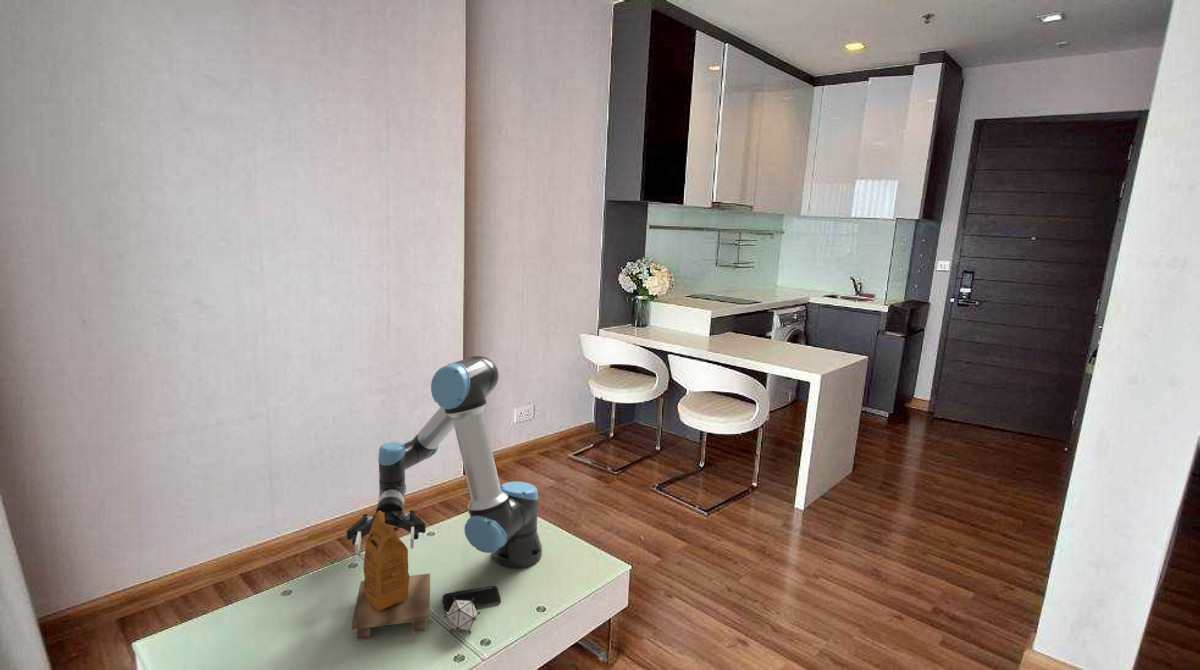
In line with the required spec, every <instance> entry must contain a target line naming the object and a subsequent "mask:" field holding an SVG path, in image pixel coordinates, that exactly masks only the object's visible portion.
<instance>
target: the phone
mask: <svg viewBox="0 0 1200 670" xmlns="http://www.w3.org/2000/svg"><path fill="white" fill-rule="evenodd" d="M453 597H455V599H456V600H472V598H474V600H473V601H472V602H473V604H474V606H475V608H476V610H477V609H484V608H489V607H494V606H495V607H496V606H499V605H501V604H500V603H502V599H501V595H500V592H499V588H498V586H497V585H488V586H482V587H478V588H476V587H475V588H472V589H471V588H470V589H466V590H465V589H464V590H459V591H454V592H447V593H444V594H443V595H442V604H444V605H443V610H445V611H446V612H448V611H449V609H450V607H451V606H452V604H453V602H454V599H453Z"/></svg>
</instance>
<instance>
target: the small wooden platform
mask: <svg viewBox="0 0 1200 670" xmlns="http://www.w3.org/2000/svg"><path fill="white" fill-rule="evenodd" d="M364 582H365V580H361V581H360V584H359V588H358V593H357V597H356V601H355V606H354V611H353V616H352V620H351V625H350V626H351V629H350V630H356V640H357V639H358V640H357V641H359V640H360V639H361V640H367V639H371V636H372V635H371V634H372V629H373V628H375V627H382V626H390V625H399V624H405V623H406V624H407V623H412V633H413V632H414V633H420V632H425V631H426V621H429V620H430V602H431V601H430V600H431V599H430V598H431V597H430V596H431V573H423V574H422V573H421V574H415V575H414V574H413V575H409V587H408V598H407V599H405V600H404V601H402V602H399V603H396V604H393V605H392V606H390V607H388V608H386V609H384V610H382V611H377V610H376V609H375V608H374V607H373V606H371V605H370V604H369V602H368V600H367V598H366V594H365V589H364Z"/></svg>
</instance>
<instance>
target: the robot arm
mask: <svg viewBox="0 0 1200 670" xmlns="http://www.w3.org/2000/svg"><path fill="white" fill-rule="evenodd" d="M498 370H499V369H498V368H497V366H496V364H495V362H494V361H493V360H491V359H490V358H488V357H486V356H484V355H483V356H482V355H473V356H471V357H467V358H464V359H462V360H457V361H455V362H450V363H447V364H446V365H444V366H442V367H440V368H439V369H438V370H437V371H436V372H435V373H434V375H433V376H432V379H431V382H430V392H431V395H432V399H433V400H434V402H435V403H437V406H439V408H438V409H437V410H436V411H435V413H434V414H433V415H432V416H431V417H430V419H429V420H428V421H427V422H426V423H425V425H424V426H423V427H422V428H421V429H420V431H418V433H417V434H416V435H415V436H414V438H413V439H411V440H408V442H405V443H402V442H397V441H394V442H393V441H390V442H386V443H384V444H382V445H380V447H379V449H378V459H377V461H378V470H379V471H378V475H379V476H378V477H379V479H378V482H379V483H378V486H379V492H378V493H379V494H378V499H377V503H376V504H377V505H376V510H375V514H374V515H372V516H369V515H368V513H364V514H363V515H362V517H361V518H360V519H359V520H358V521H356V522H355V523H354V524H352V526H351V527H349V528H348V529H346V539H347V541H350V540H351V546H354V555H359V552H360V547H361V543H362V538H364V537H365V536H368V534H369V532H370V530H371V527H372V523H373V521H374V519H375V516H376V513H377V511H382V512H383V513H384V515H385V523H386V524H389V525H393V526H396V527H398V529H402V530H405V531H407V532H409V533H410V542H409V543H410V549H411V550H413V549H415V547H414V546H415V545H414V544H415V540H418V539H419V537H420V536H419V535H420V533H421V534H425V533H426V531H427V530H426V523H425V522H424V520H422V519H421V518H420V517H419V516H417V514H415V511H414V510H409V512H407V513H404V507H405V495H406V491H407V489H406V488H407V486H406V470H407V469H410V468H411V467H414V466H415V465H418V464H419V463H421V462H422V461H425V460H427V459H429V458H431V457H432V456H433V455H435V454H436V453H437V452H438V449H439V446H440V444H441V443H442V442H443V441H444V440H445V439H446V437H448V435H449V434H450V433H451V432H452V431H453V430H454V431H455V434H456V439H457V443H458V444H457V445H458V449H459V452H460V456H461V461H462V465H463V468H464V469H463V470H464V473H465V476H466V481H467V485H468V490H469V494H470V495H469V496H470V498H471V499H470V502H469V503H468V504H467V510H468V514H469V518H468V519H467V520H466V522H465V524H464V534H465V537H466V539H467V541H468V542H469V545H471V546H472V547H473V548H475V549H476V550H478V551H479V552H482V553H485V554H489V553H492V557H493V560H494V561H495V562H496V563H497V564H499V565H500V566H502V567H504V568H510V569H521V568H522V569H523V568H527V567H530V566H532V565H535V564H536V563H538V562H539V561H540V560H541V558H542V556H543V545H542V543H541V539H540V536H539V533H538V513H539V511H538V510H539V509H538V508H539V506H538V505H539V494H538V493H539V491H538V489H537V487H536V486H535V485H533V484H532V483H530V482H525V481H507V482H504V483H503V484H502V485H501V483H500V479H499V475H498V471H497V467H496V461H495V458H494V453H493V449H492V445H491V441H490V440H491V439H490V437H489V431H488V427H487V423H486V419H485V415H484V409H485V408H486V406H487V405H488V404H487V400H486V399H487V397H488V396H489V394H491V393H492V391H493V390H494V389H495V387H496V386H497V384H498V381H499V371H498Z"/></svg>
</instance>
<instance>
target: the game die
mask: <svg viewBox="0 0 1200 670" xmlns="http://www.w3.org/2000/svg"><path fill="white" fill-rule="evenodd" d="M453 599H454V602H453V604H452V606H451V607H450V609H449V611H448V613H446V615H443V616H442V618H443V619H446V621H447V623H448V624H449V626H450V630H449V633H452V632H453V631H454V630H455V631H456V632H459V631H467V632H468V633H469V634H471V633H472V631H471V629H472V626H473V624H474V622H475V621H477V616H478V615H481V612H480V611H478V610H477V609H476V608H475V606H474V604H473V602H472V601H473V600H474V598H472V600H456V599H455V597H453Z"/></svg>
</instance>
